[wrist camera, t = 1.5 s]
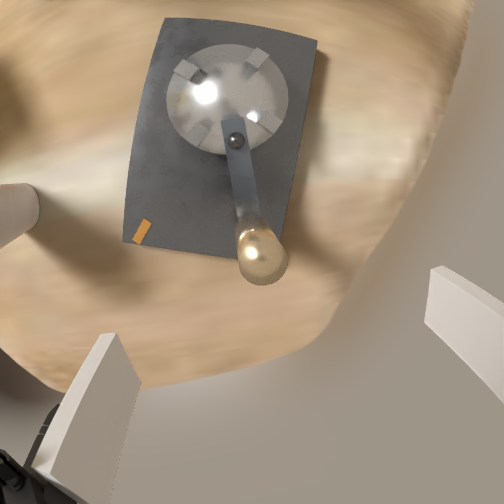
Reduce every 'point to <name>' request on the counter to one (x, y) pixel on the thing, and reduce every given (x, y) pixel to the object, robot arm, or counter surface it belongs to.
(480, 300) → the robot arm
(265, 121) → the lever with amber grip
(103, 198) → the counter surface
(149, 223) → the plate
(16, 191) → the coffee cup
